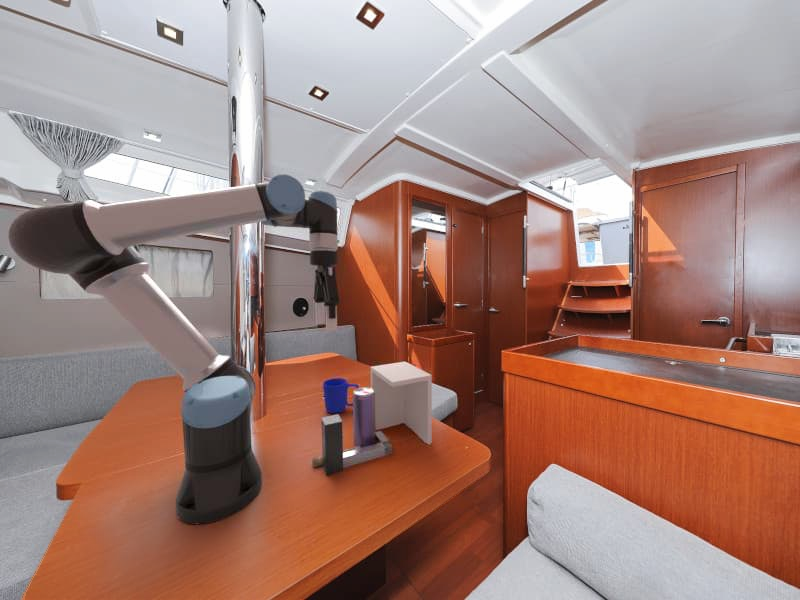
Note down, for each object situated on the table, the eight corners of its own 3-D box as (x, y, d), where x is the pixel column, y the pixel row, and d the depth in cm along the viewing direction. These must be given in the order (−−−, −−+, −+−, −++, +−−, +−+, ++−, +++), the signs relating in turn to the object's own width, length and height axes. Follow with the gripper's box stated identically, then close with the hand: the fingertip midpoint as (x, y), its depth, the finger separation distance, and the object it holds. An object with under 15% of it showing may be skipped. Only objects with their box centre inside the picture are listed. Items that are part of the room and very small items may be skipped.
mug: (356, 415, 94) (356, 386, 94) (320, 415, 95) (319, 386, 94) (360, 405, 103) (360, 378, 102) (327, 405, 103) (326, 378, 102)
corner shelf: (393, 456, 72) (392, 382, 71) (371, 429, 86) (370, 366, 84) (431, 443, 78) (431, 375, 76) (405, 420, 91) (405, 361, 90)
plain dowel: (313, 469, 68) (312, 460, 68) (312, 465, 69) (311, 457, 70) (361, 455, 73) (361, 447, 73) (359, 452, 75) (358, 444, 75)
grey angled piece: (326, 475, 65) (324, 425, 64) (319, 455, 73) (318, 410, 72) (393, 455, 72) (393, 410, 72) (381, 439, 80) (380, 397, 79)
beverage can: (364, 453, 73) (364, 397, 72) (349, 445, 77) (348, 391, 76) (380, 443, 78) (379, 390, 77) (364, 436, 82) (363, 385, 81)
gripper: (350, 246, 69) (352, 332, 70) (327, 255, 91) (328, 321, 92) (319, 244, 66) (321, 335, 67) (302, 254, 88) (304, 322, 89)
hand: (325, 327), depth 80 cm, fingers open, 13 cm apart
